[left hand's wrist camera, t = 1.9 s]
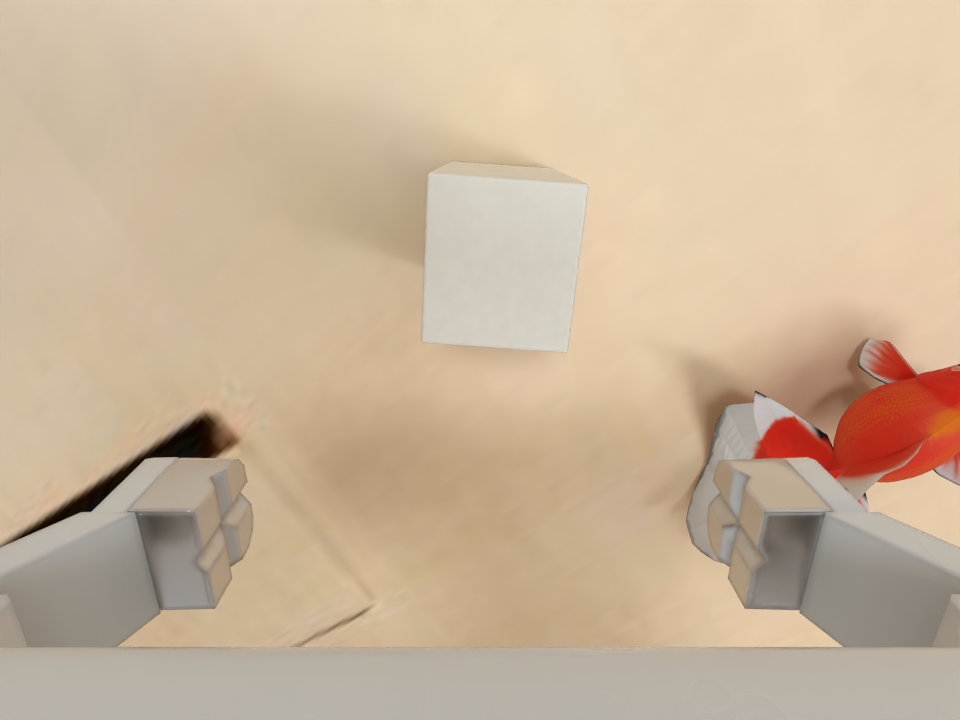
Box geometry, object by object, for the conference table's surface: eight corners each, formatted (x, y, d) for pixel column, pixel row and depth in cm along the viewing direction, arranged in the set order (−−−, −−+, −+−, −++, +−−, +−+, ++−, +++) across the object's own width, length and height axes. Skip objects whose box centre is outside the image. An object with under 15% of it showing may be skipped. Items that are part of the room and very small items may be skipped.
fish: (1057, 519, 28) (1138, 637, 20) (725, 544, 37) (685, 634, 29) (988, 305, 28) (1041, 336, 20) (671, 381, 37) (617, 425, 29)
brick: (450, 160, 28) (427, 172, 17) (553, 168, 28) (589, 183, 18) (445, 274, 30) (420, 343, 19) (541, 280, 30) (567, 353, 19)
